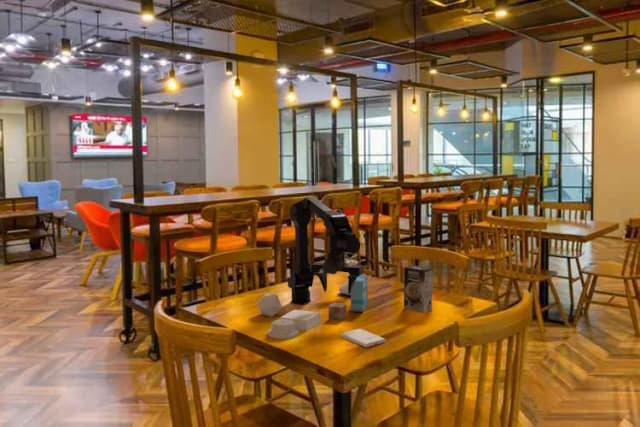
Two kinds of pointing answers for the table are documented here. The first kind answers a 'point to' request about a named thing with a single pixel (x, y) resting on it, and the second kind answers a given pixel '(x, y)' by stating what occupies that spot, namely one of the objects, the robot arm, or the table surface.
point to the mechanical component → (283, 329)
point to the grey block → (303, 319)
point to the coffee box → (418, 288)
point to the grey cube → (337, 311)
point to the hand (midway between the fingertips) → (337, 292)
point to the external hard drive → (363, 337)
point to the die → (269, 304)
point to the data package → (359, 294)
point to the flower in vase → (344, 287)
